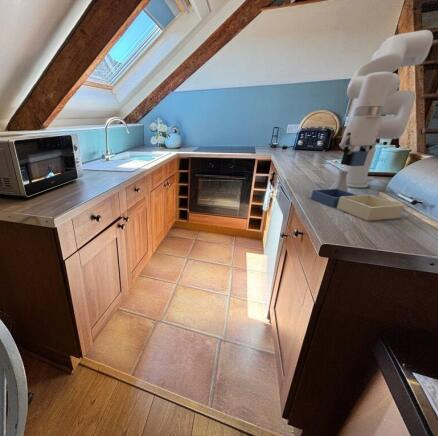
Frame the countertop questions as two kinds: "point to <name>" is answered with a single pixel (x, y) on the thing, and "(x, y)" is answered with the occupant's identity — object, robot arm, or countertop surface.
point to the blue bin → (329, 196)
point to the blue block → (358, 158)
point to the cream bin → (370, 207)
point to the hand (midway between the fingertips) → (352, 163)
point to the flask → (340, 181)
